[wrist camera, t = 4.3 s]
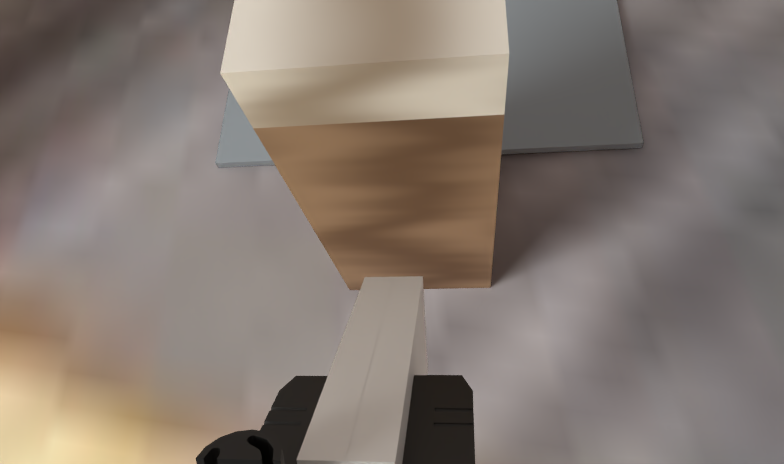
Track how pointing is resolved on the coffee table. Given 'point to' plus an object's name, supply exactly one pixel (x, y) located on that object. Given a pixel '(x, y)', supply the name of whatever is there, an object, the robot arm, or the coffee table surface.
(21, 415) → the coffee table surface
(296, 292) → the coffee table surface
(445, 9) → the block
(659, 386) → the coffee table surface
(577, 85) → the mat
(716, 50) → the coffee table surface
